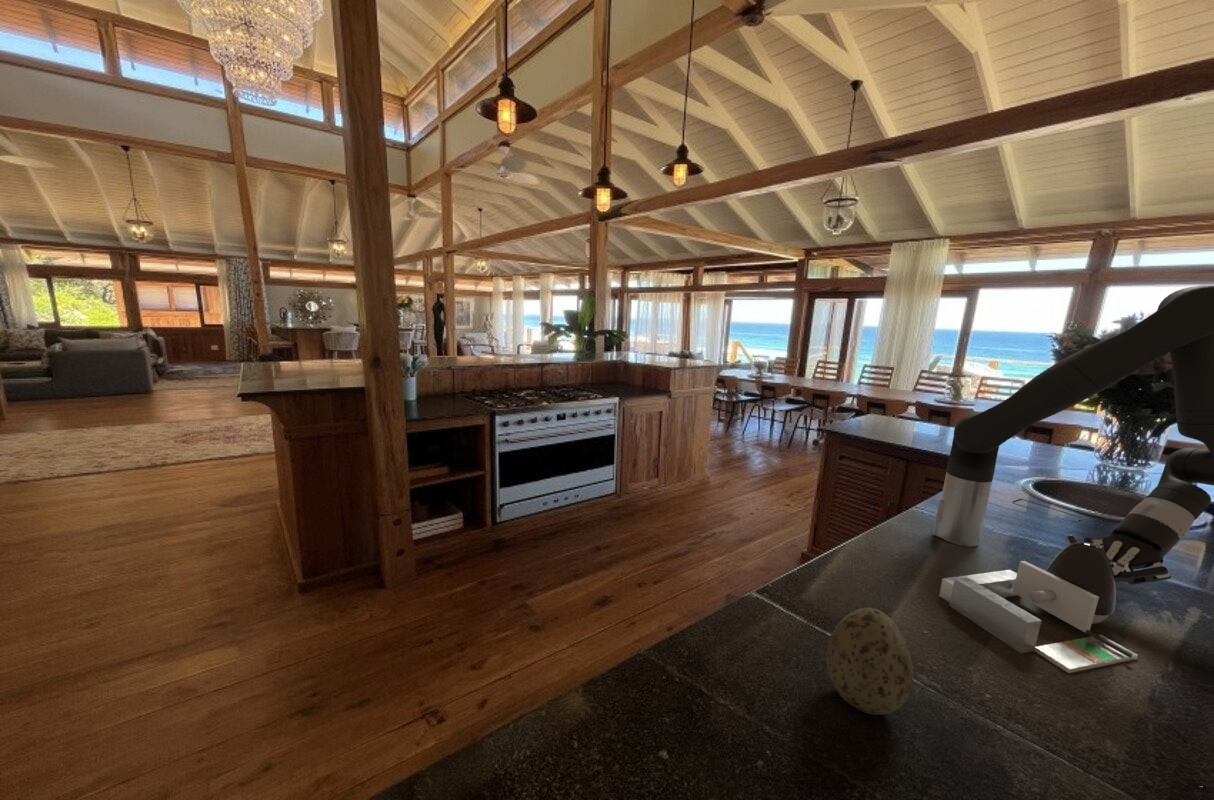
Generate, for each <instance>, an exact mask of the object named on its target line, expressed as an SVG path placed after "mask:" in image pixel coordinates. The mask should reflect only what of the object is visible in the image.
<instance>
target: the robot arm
mask: <svg viewBox="0 0 1214 800" xmlns="http://www.w3.org/2000/svg"><path fill="white" fill-rule="evenodd" d="M1168 353H1169V355H1170V361H1171V364H1172V365H1171V366H1172V372H1173V385H1174V386H1173V387H1174V403H1175V412H1176V413H1175V415H1176V424H1177V426H1176V428H1177V431H1178V434H1180V435H1181V436H1183V437H1186V438H1187V439H1193V440H1195V441H1199V442H1201V443H1202V444H1204V446H1206V448H1207V449H1206V448H1201V447H1200V448H1199V447H1182V448H1180V449H1178V450H1176V451H1173V452H1172V453H1170V454H1169V455H1168V456H1167V458H1166V460H1165V464H1164V467H1163V470H1162V473H1161V476H1160V479H1159V480H1158V481H1159V482H1158V483H1157V485H1156V486H1155V487H1154V488H1153V489H1152V490H1151V492H1150V493H1149V494H1148V495H1146V497H1145V498H1144V499H1143V500H1142V501H1141V502H1139V503H1138V504H1136V505H1135V506H1134V508H1132V509H1131V510H1130V512H1128V514H1127V515H1126V516H1125V517H1124V518H1123V519H1122V520H1121V521H1120V522H1119V523H1118V524H1117V526H1116V527H1115V528H1114V529H1113V530H1112V532H1111V533H1109V535H1105V536H1103V537H1102V539H1092V538H1091V537H1089V536H1086V537H1084V538H1083V542H1088V543H1092V544H1094V545H1096V546H1098V547H1099V548H1101V549H1102V548H1103V549H1104V550H1103V551H1104V552H1105V553H1106V555H1107V556H1108V558H1109V560H1110V563H1111V566H1112V569H1113V573H1114V579H1115V585H1116V584H1117V583H1119V582H1124V583H1127V584H1129V585H1131V586H1132V585H1140V584H1147V583H1152V582H1159V581H1167V580H1171V578H1172V576H1171V574H1170V571H1169V570H1168V568H1167V567H1165V566H1164V565H1163V564H1164V557H1165V556H1166V555H1168V553H1169V552H1170V551H1171V550H1172V549H1173V547H1175V546H1176V545H1177V544H1178V543H1179V542H1180V540H1181V539H1183V538H1184V537H1185V536H1186V534H1187V533H1188V532H1189V531H1190V529H1191V527H1192V525H1193V524H1194V523H1195V521H1196V520H1197V519H1198V518H1199V517H1200V516H1201V515H1202V514H1203V512H1204V511H1206V510H1207V509H1208V507H1209V506H1210V505H1211V503H1212V502H1211V501H1212V497H1211V495H1210V494H1209V493H1208V492H1207V491H1205V489H1203V488H1201V487H1200V486H1198V485H1196V484H1200V485H1201V484H1202V485H1208V486H1214V284H1205V285H1204V284H1203V285H1195V286H1189V287H1184V288H1180V289H1178V290H1176V291H1174V292H1172V293H1169V294H1168V295H1167V296H1165V297H1164V298H1163V299H1162V301H1161V302H1160V303H1159V305H1158V306H1157V310H1156V311H1154V312H1153V313H1152V314H1150V315H1149V316H1146V317H1145V318H1144V319H1143V320H1140V322H1138V323H1136V324H1134V325H1133V326H1131V327H1130V328H1127V329H1125V330H1124V331H1122V332H1120V333H1118V334H1115V335H1113V336H1111V337H1108V338H1106V339H1104V340H1101V341H1098V342H1096V343H1094V344H1092V345H1089V346H1087V347H1085V348H1082V349H1080V350H1079V351H1077V352H1074V353H1073V354H1070V355H1069V356H1066V357H1065V358H1063V359H1061V360H1060V361H1058V362H1057V363H1054V364H1053V365H1051V366H1049V367H1048V368H1046V369H1044V370H1043V371H1042V372H1039V374H1037V375H1036V376H1034V377H1033V378H1032V379H1031V380H1029V381H1028V382H1027V383H1025V384H1024V385H1023V386H1022V387H1020V388H1019V389H1018V390H1016V392H1015V393H1013V394H1012V395H1010V396H1009V397H1008V398H1006V399H1005V400H1003V401H1001V402H1000V403H998V404H996V405H993V406H992V407H990V408H988V409H985V410H984V411H982V412H980V411H979V412H978V411H977V412H976V411H975V412H970V413H967V414H965V415H962V417H960V418H959V419H958V420H957V422H956V425H955V427H954V430H953V437H952V443H951V449H950V453H949V457H948V462H947V467H946V472H945V473H946V474H945V479H944V483H943V488H942V493H941V497H940V500H939V501H938V504H937V511H936V513H935V514H936V516H935V520H934V526H933V531H932V536H936V537H937V538H939V537H940V539H941V538H942V539H941V540H943V539H944V540H943V541H945V540H946V541H945V542H948V543H950V542H951V544H953V543H954V544H953V545H957V546H961V547H971V548H974V547H977V546H979V545H980V541H981V535H982V530H983V526H984V522H985V516H986V512H987V507H988V503H989V499H990V494H991V489H992V484H993V481H994V475H995V471H996V470H995V469H996V465H997V458H998V454H999V449H1000V446H1001V445H1003V444H1004V443H1006V442H1007V441H1008V440H1010V439H1011V438H1013V437H1015V436H1016V435H1017V434H1019V433H1021V432H1022V431H1024V430H1025V429H1027V428H1029V427H1031V426H1033V425H1034V424H1036V423H1038V422H1041V421H1043V420H1046V419H1049V418H1050V417H1052V416H1054V415H1057V414H1058V413H1060V412H1063V411H1065V410H1067V409H1069V408H1071V407H1074V406H1075V405H1077V404H1080V403H1081V402H1084V401H1085V400H1087V399H1089V398H1092V397H1093V396H1095V395H1097V394H1099V393H1101V391H1102V392H1103V391H1104V390H1106V389H1108V388H1110V387H1111V386H1113V385H1115V384H1117V383H1118V382H1120V381H1122V380H1124V379H1125V378H1127V377H1129V376H1130V375H1133V374H1134V373H1135V372H1137V371H1138V370H1141V369H1142V368H1143V367H1145V366H1147V365H1148V364H1150V363H1152V362H1153V361H1155V360H1157V359H1158V358H1161V357H1162V356H1164V355H1166V354H1168Z"/></svg>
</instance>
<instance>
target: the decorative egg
mask: <svg viewBox="0 0 1214 800" xmlns="http://www.w3.org/2000/svg"><path fill="white" fill-rule="evenodd" d="M825 655H826V656H825V660H826V661H825V662H826V668H827V673H828V675H829V678H830V681H831V683H832V685H833V687H834V689H835V690H836V691H837V693H838V694H839V695H840V697H841V698H842V699H843V700H844V701H845V702H846V703H847V704H849V705H850V706H851V707H853V708H855V709H856V710H858V711H860V712H863V713H865V714H868V715H875V716H880V715H881V716H882V715H887V714H889V713H893V712H895V711H897V710H898V709H900V708H901V707H902V706H903V705H904V704H905V702H907V699H908V698H909V696H910V694H911V691H912V686H913V678H914V673H913V672H914V671H913V670H914V669H913V668H914V667H913V663H912V658H911V657H912V656H911V653H910V649H909V647H908V644H907V642H906V639H905V638H904V635H903V634H902V632H901V630H900V628H899V627H898V626H897V624H896V623H895V622H894V620H893V619H892V618H891V617H889V615H887V614H886V613H885V612H883V611H881V610H880V609H877V608H874V607H863V608H858V609H856V610H854V611H852V612H850V613H848V614H847V615H845V616H844V617H843V618H842V619H841V620H840V621H839V622H838V623H837V625H836V626H835V628H834V629H833V631H832V633H831V635H830V638H829V639H828V643H827V647H826V654H825Z"/></svg>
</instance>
